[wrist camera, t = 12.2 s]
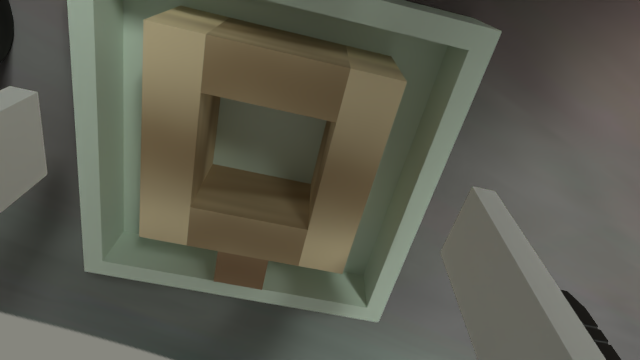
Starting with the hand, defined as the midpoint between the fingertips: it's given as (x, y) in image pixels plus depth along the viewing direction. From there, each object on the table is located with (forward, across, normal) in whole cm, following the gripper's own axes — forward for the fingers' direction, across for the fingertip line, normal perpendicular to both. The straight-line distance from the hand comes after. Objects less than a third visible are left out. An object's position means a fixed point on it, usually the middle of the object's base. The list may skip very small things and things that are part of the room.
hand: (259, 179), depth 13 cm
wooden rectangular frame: (+5, 0, 0) cm, 5 cm away
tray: (+6, 0, -1) cm, 6 cm away
